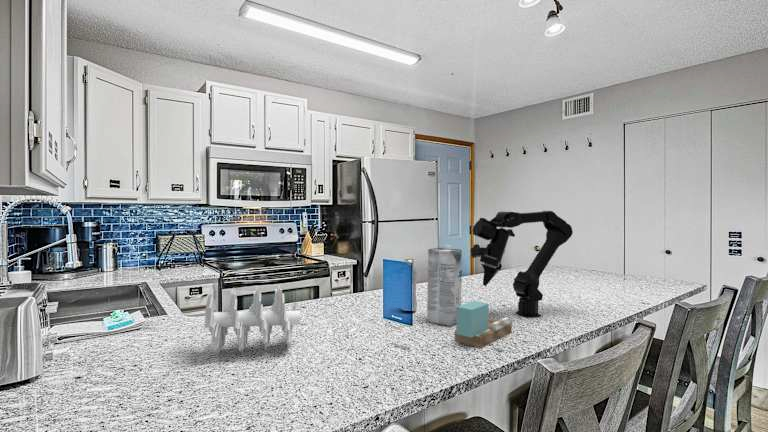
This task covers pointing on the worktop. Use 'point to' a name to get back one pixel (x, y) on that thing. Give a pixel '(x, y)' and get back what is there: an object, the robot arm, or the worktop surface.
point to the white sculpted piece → (250, 319)
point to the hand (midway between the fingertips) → (484, 285)
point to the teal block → (472, 318)
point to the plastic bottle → (414, 284)
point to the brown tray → (487, 333)
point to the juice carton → (444, 284)
